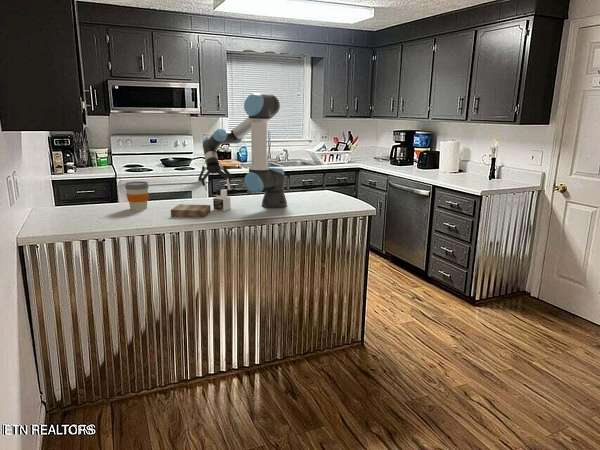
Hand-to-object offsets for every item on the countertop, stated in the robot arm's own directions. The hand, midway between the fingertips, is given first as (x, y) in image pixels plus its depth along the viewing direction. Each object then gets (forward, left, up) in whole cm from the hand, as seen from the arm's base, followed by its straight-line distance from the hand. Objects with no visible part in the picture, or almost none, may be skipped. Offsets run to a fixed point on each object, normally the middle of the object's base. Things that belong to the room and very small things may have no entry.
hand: (217, 189), depth 258 cm
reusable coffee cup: (+45, +9, -11) cm, 47 cm away
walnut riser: (+11, +20, -11) cm, 25 cm away
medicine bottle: (-3, +6, -11) cm, 13 cm away
